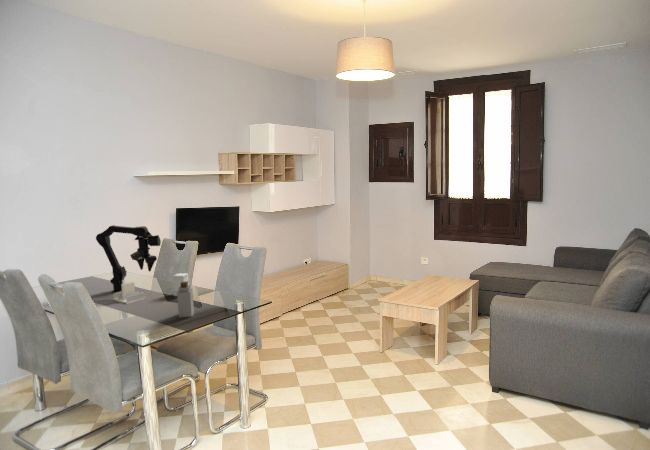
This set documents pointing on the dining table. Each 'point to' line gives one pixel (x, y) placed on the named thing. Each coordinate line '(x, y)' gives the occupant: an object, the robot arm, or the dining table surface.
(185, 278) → the supplement box
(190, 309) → the perfume bottle
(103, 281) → the dining table surface
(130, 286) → the cream rectangular tile
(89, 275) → the dining table surface
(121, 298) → the rack
